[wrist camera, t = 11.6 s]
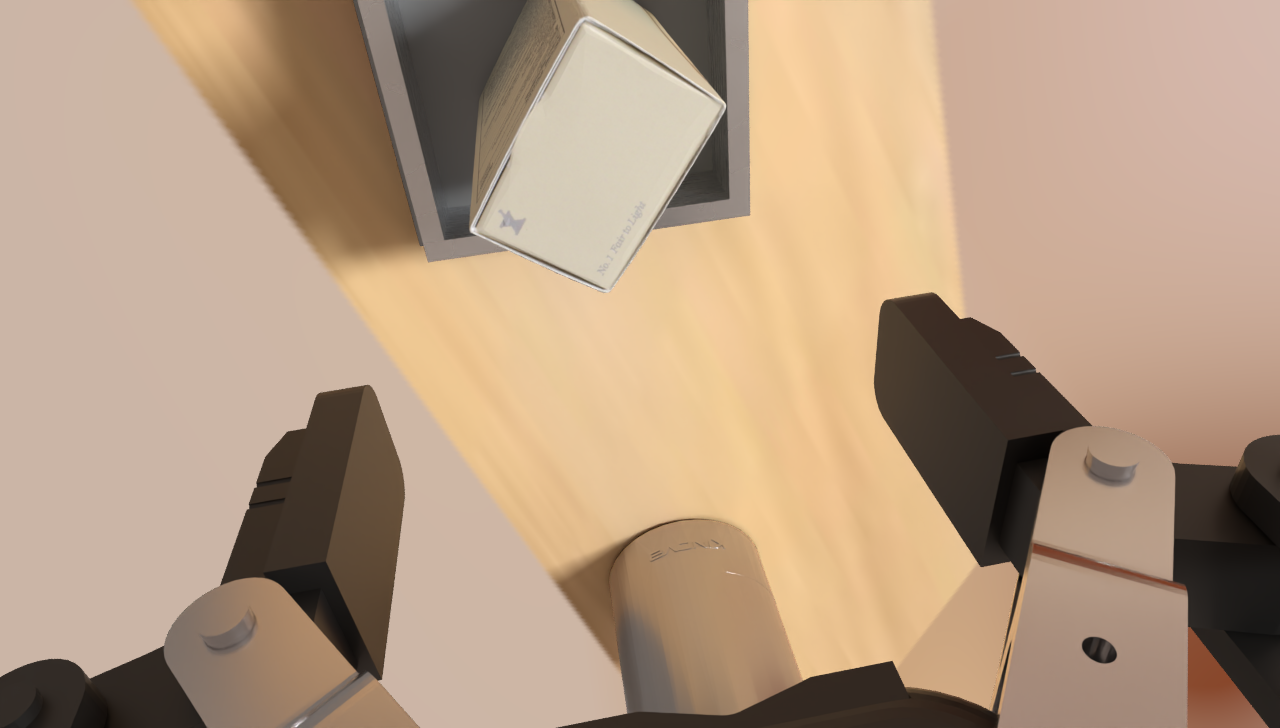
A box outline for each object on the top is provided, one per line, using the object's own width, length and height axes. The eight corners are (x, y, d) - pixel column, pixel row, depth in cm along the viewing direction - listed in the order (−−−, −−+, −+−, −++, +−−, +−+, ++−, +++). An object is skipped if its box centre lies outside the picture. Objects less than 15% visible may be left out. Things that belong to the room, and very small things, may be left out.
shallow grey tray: (731, 185, 34) (749, 215, 32) (433, 228, 33) (428, 262, 31) (723, -170, 27) (746, -167, 24) (340, -127, 26) (324, -120, 24)
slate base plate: (743, 191, 35) (748, 199, 35) (421, 237, 34) (420, 246, 34) (738, -198, 27) (744, -198, 27) (316, -151, 26) (312, -150, 26)
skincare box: (574, 153, 32) (609, 306, 22) (471, 98, 31) (460, 239, 21) (657, 7, 30) (738, 109, 20) (550, -63, 28) (581, 11, 18)
